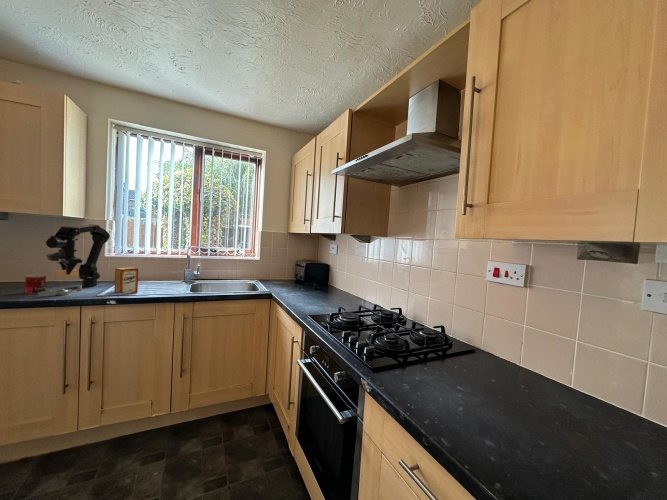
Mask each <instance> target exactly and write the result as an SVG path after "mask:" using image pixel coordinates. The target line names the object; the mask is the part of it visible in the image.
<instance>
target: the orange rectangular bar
mask: <svg viewBox="0 0 667 500" xmlns="http://www.w3.org/2000/svg"><path fill="white" fill-rule="evenodd" d="M53 277H54V278H63V277H79V269H75V268H74V269H73V270H72V272H71V273H70V274H69V275H67V273H66V270H62V269H61V270H60V269H57V270H56V269H55V270H53Z"/></svg>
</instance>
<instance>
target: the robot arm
mask: <svg viewBox="0 0 667 500" xmlns="http://www.w3.org/2000/svg"><path fill="white" fill-rule="evenodd" d="M84 233H89V234H90V235H91V238H92V239H91V240H92V242H93V243H92V246H91V248H90V251H89V253H88V257H87V259H86V261H85V263H83V259H82V258H81V257H77V256H75V253H76V252H77V249H76V248H75V247H76V241H79V238H77V237H78V236H80V235H81V234H84ZM110 236H111V234H110V233H109V232H108V231H107V230H106V229H104V228H102V227H101V226H100V225H98V224H92V223H91V224H86V225H80V226H79V225H78V226H66V225H65V226H60V228H59V229H58V231H57V232H56V233H55V234H54V235H50V237H49V238H47V240H46V241H45V244H46V246H47V247H48V248H50V249H58V251H57V252H52V253H48V254H46V255H45V256H46V258H47V260H48V261H51V262H56V264H58V265H60V267H61V270H66V273H67V275H69V274H70V273H71V272H72V270H75V268H76V266H77V265H78V264H80V265H79V268H78V270H79V276H78V277H79V279H80V280H82V281H81V285H80V286H82V288H93V287H94V288H95V287H97V284H98V279H100V277H101V274H100V273H99V272H98V267H97V263H98V259H99V257H100V254H101V252H102V248H103V246H104V245H105V243H107V242H108V241H109V239H110ZM82 263H83V264H82Z"/></svg>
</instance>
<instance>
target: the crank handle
mask: <svg viewBox="0 0 667 500" xmlns="http://www.w3.org/2000/svg"><path fill="white" fill-rule="evenodd" d="M69 290H70V289H65V288H59V289H52V290H51V291H47V290H46V291H42V292H38V293H37V294H36V295H37V297H44V296H52V295H55V297H56V296H57V297H63V296H68V295H69V294H70V293H69Z"/></svg>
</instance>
